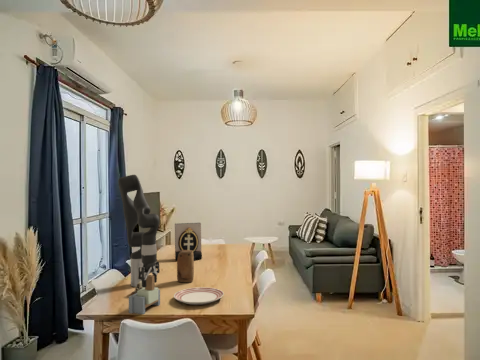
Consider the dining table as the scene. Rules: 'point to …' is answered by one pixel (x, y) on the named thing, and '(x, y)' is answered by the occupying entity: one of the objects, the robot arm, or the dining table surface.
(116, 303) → the dining table surface
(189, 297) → the dinner plate
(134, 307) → the board
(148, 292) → the green and brown blocks
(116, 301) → the dining table surface
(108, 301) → the dining table surface
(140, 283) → the skull
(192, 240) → the decorative plaque
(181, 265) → the block
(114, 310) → the dining table surface
